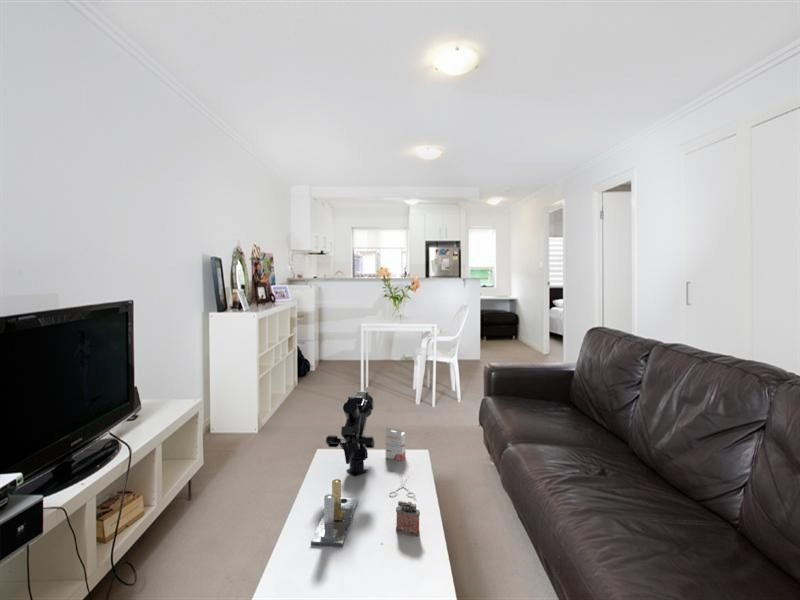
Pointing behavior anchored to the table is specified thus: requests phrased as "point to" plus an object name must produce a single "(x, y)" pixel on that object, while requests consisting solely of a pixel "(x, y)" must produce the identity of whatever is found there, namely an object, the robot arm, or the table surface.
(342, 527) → the bolt plate
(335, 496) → the gold tapered block
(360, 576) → the table surface
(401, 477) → the scissors
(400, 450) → the ink cartridge box
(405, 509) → the lighter
